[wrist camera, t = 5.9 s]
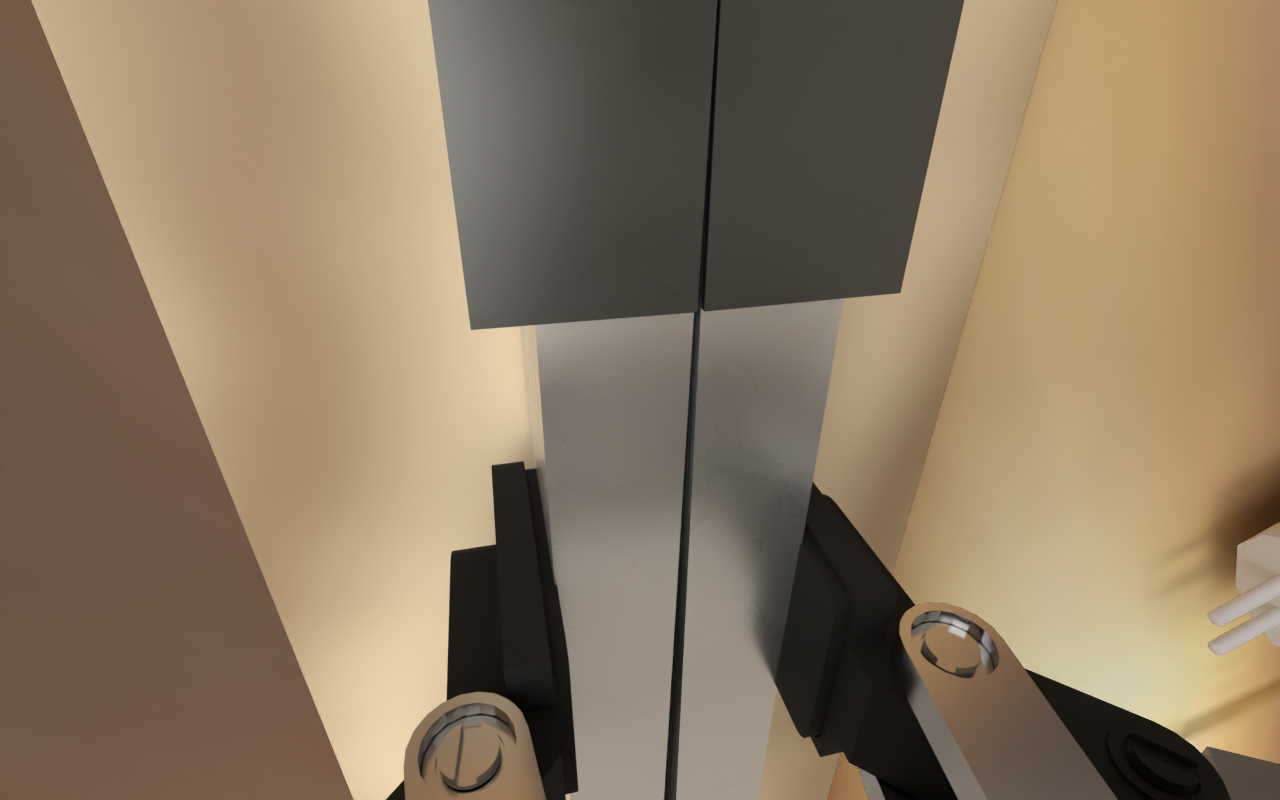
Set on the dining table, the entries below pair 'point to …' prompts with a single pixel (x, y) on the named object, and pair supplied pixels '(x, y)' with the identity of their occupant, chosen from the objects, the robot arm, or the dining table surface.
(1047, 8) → the oak board
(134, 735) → the dining table surface
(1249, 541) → the charger
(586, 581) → the tongs leg
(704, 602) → the tongs leg
